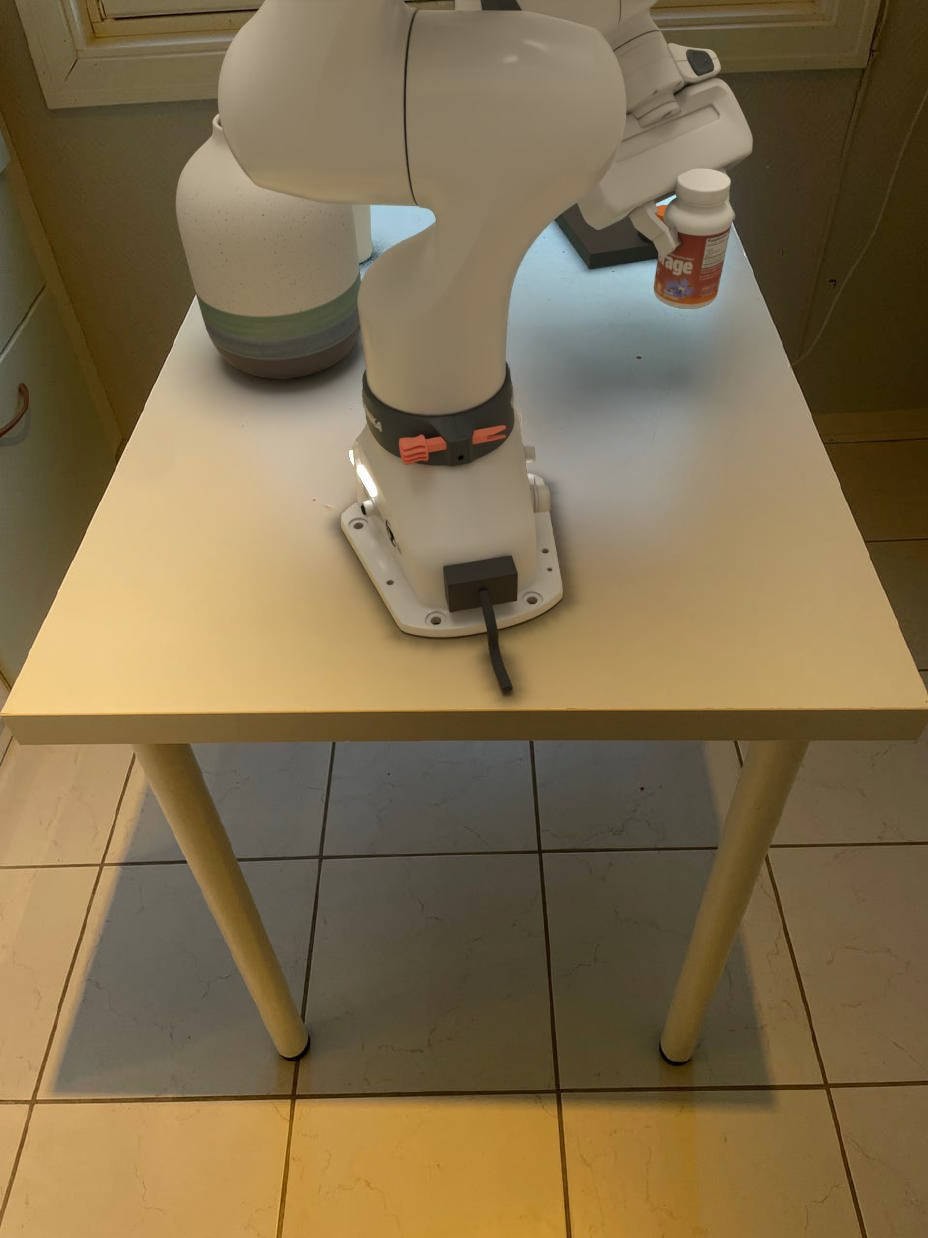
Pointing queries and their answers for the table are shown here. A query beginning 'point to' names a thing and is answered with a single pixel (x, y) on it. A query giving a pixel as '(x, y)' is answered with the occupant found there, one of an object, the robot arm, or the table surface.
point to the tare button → (661, 211)
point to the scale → (605, 240)
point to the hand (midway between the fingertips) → (699, 237)
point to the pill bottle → (695, 240)
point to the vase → (267, 267)
